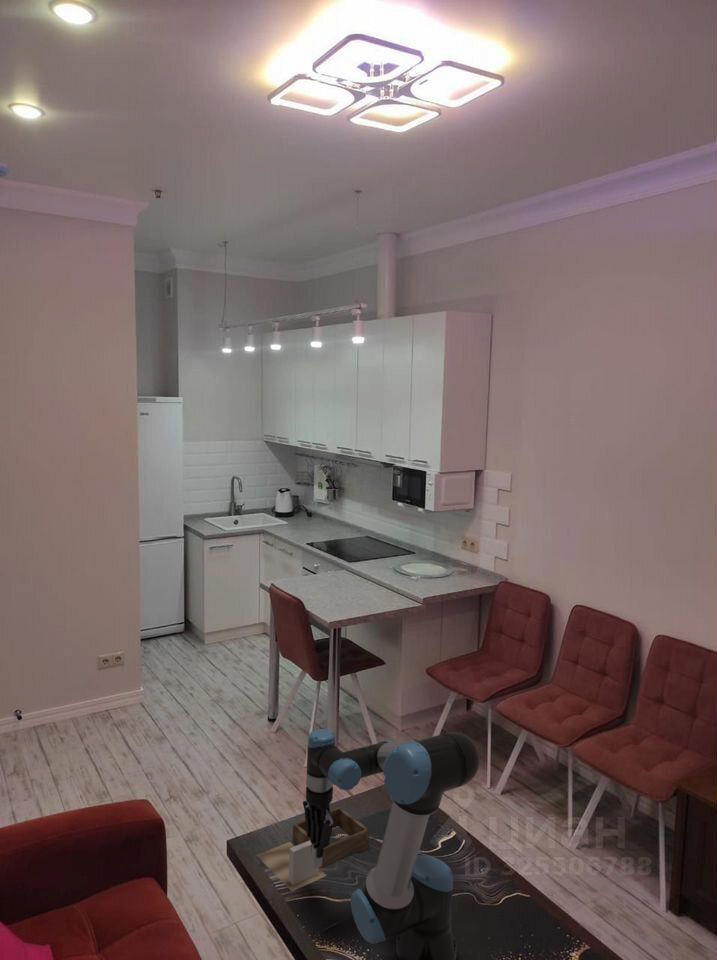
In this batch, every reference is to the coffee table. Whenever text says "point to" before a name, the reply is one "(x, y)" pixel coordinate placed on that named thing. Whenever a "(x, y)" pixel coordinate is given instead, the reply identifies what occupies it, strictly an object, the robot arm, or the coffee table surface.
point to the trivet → (284, 865)
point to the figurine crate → (347, 844)
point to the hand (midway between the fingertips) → (316, 865)
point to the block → (301, 863)
